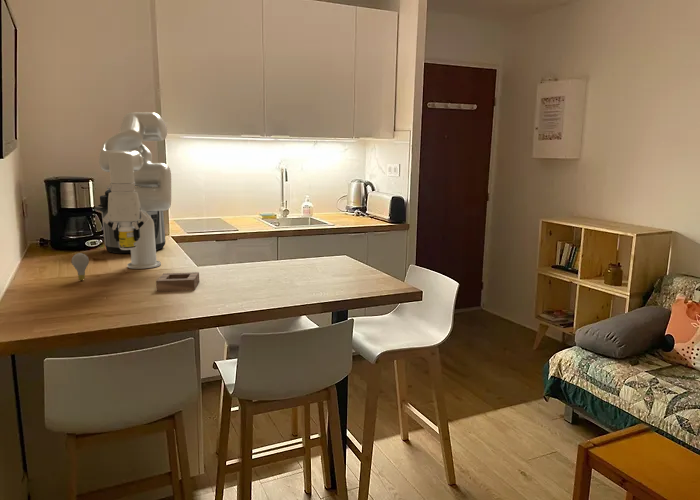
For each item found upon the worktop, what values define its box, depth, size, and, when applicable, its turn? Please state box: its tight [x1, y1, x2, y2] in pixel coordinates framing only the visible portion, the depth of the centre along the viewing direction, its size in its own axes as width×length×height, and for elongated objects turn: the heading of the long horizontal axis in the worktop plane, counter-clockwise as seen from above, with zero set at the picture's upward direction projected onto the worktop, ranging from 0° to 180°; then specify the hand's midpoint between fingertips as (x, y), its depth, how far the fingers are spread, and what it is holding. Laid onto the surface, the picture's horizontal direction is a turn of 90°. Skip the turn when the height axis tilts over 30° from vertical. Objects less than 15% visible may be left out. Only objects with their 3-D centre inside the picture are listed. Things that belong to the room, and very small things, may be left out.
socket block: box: [155, 271, 200, 293], centre depth 187 cm, size 12×12×4 cm
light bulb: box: [71, 252, 90, 281], centre depth 196 cm, size 6×6×10 cm
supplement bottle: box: [118, 222, 136, 250], centre depth 191 cm, size 5×5×10 cm
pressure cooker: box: [94, 189, 166, 254], centre depth 259 cm, size 30×28×32 cm
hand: (127, 240), depth 192 cm, fingers closed on supplement bottle, 5 cm apart
